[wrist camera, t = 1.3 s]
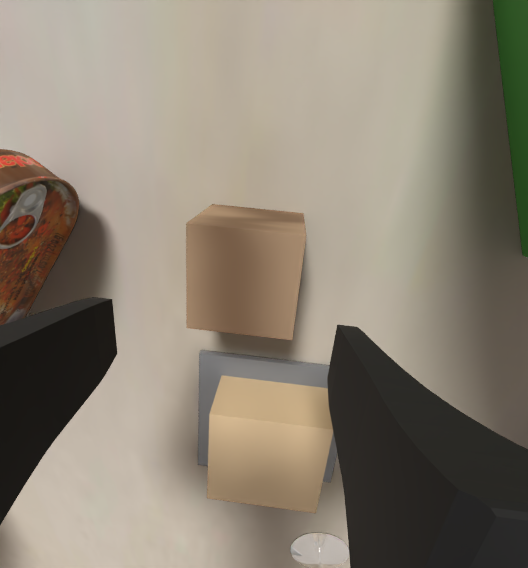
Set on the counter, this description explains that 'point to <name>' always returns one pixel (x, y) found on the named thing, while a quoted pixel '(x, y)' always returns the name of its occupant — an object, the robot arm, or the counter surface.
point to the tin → (30, 229)
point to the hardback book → (515, 96)
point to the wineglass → (319, 550)
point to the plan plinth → (264, 430)
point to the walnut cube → (244, 270)
